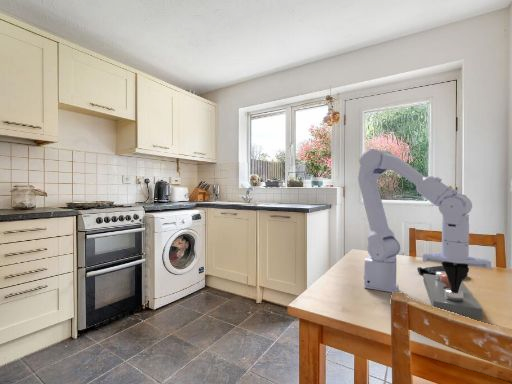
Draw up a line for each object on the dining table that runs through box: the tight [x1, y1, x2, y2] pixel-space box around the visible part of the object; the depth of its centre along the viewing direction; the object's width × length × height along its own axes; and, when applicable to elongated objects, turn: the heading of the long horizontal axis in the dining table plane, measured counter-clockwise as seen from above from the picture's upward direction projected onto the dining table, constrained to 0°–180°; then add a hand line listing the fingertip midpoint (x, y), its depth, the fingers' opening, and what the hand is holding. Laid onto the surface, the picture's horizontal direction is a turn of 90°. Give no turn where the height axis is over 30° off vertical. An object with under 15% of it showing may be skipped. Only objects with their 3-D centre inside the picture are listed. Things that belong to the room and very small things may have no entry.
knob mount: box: [422, 274, 483, 320], centre depth 78 cm, size 10×24×2 cm, turn 153°
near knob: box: [445, 288, 463, 302], centre depth 71 cm, size 4×4×4 cm
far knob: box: [435, 271, 446, 280], centre depth 85 cm, size 4×4×4 cm
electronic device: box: [416, 265, 469, 279], centre depth 96 cm, size 9×6×15 cm
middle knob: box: [440, 273, 450, 288], centre depth 78 cm, size 4×4×4 cm
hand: (454, 291), depth 71 cm, fingers closed, pressing on near knob
